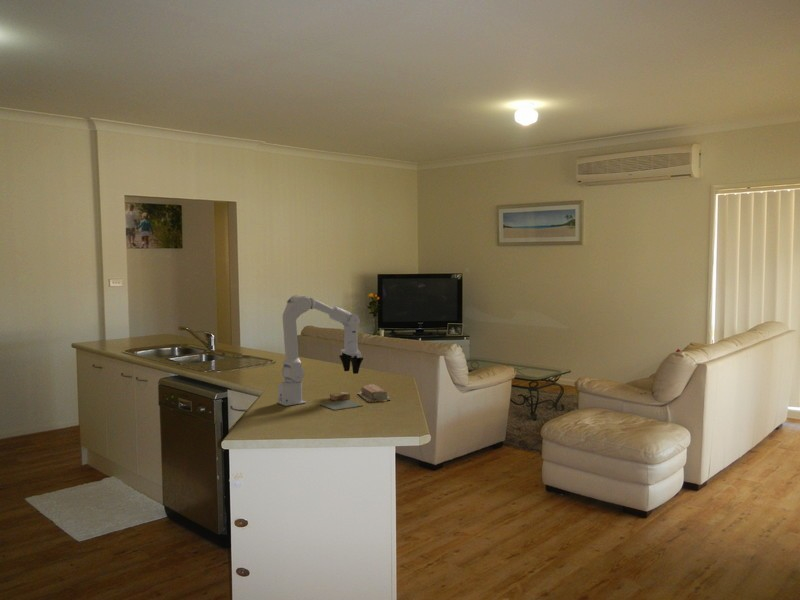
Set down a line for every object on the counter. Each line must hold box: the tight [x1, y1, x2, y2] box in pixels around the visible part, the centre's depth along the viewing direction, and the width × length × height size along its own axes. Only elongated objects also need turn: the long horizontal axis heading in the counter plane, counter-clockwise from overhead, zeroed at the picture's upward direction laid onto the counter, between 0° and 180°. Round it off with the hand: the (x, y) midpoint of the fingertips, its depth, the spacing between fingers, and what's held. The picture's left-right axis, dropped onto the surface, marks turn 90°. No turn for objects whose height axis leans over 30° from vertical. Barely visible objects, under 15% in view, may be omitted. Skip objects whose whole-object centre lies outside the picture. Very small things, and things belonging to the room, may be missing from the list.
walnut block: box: [329, 391, 351, 402], centre depth 274 cm, size 7×4×3 cm, turn 125°
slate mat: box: [319, 399, 364, 411], centre depth 262 cm, size 13×12×1 cm
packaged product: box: [356, 383, 392, 403], centre depth 278 cm, size 18×5×10 cm
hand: (351, 372), depth 282 cm, fingers open, 7 cm apart
